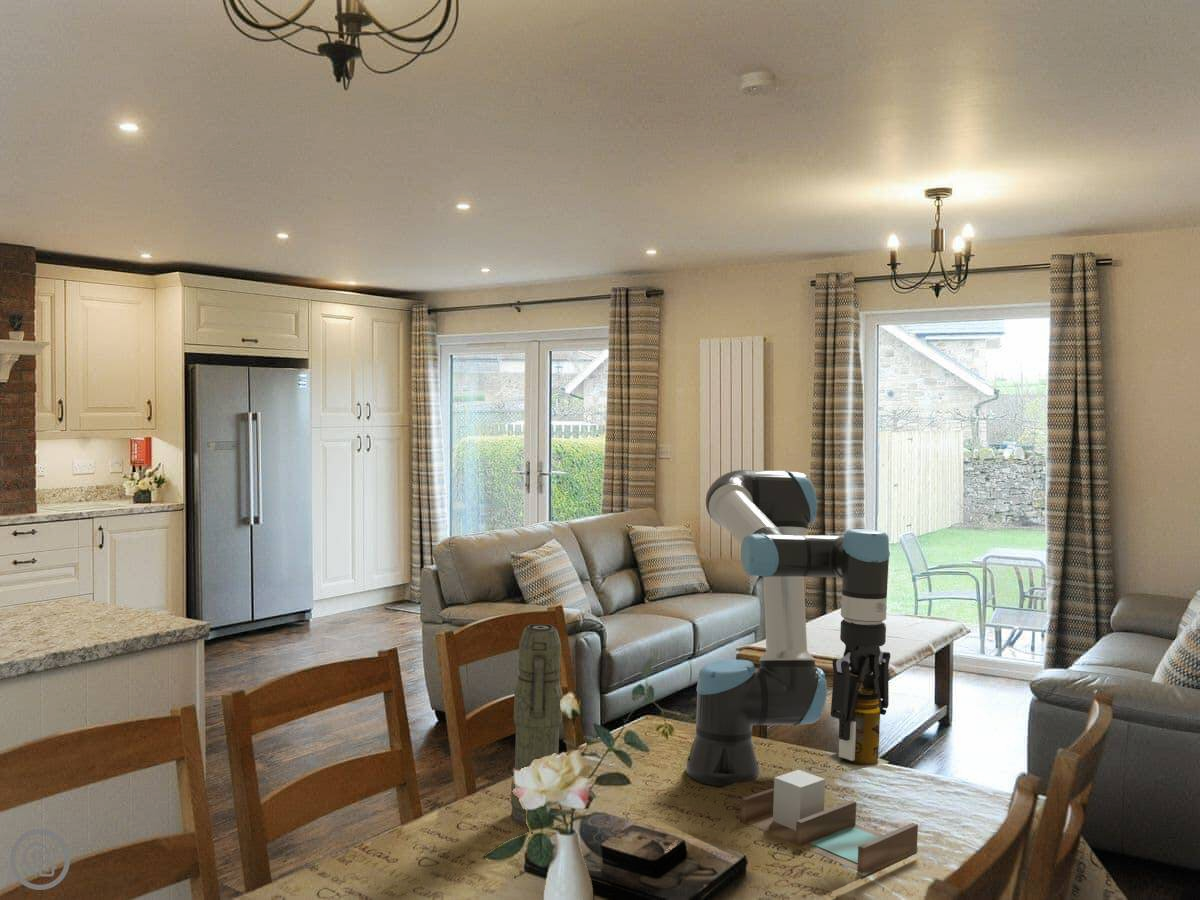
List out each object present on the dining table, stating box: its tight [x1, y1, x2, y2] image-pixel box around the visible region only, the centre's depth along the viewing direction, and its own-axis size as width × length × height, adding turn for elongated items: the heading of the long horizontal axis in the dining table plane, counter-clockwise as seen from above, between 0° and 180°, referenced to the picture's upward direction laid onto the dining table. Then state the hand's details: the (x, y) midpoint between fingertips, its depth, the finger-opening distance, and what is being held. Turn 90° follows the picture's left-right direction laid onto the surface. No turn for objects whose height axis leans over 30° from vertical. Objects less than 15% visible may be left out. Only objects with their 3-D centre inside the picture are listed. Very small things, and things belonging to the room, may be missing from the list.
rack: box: [740, 787, 919, 880], centre depth 171 cm, size 26×16×5 cm, turn 40°
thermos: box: [510, 623, 564, 827], centre depth 177 cm, size 9×12×35 cm
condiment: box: [822, 686, 890, 771], centre depth 165 cm, size 7×8×12 cm
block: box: [773, 769, 826, 831], centre depth 176 cm, size 6×7×8 cm
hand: (858, 754), depth 166 cm, fingers closed on condiment, 6 cm apart
